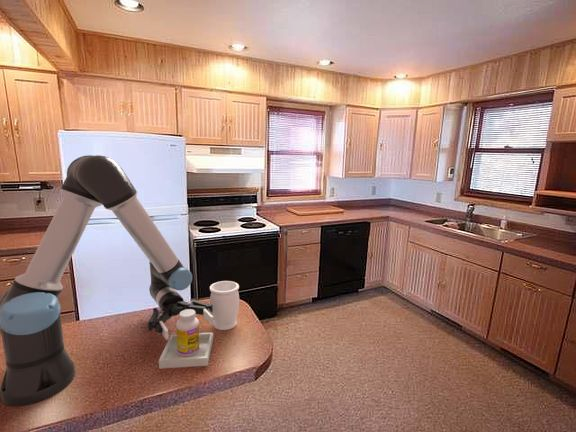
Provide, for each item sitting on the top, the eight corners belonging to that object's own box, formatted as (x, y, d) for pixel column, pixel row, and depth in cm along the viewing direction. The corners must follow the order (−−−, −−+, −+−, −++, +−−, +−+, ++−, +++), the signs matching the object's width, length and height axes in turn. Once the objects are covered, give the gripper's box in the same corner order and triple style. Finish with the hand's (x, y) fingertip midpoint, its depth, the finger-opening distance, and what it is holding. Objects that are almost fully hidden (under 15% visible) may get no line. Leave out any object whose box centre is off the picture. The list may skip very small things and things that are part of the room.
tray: (159, 368, 86) (158, 360, 86) (171, 341, 100) (171, 334, 99) (207, 365, 88) (207, 357, 88) (213, 339, 101) (213, 332, 101)
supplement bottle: (187, 360, 89) (186, 320, 87) (172, 353, 93) (170, 314, 90) (204, 348, 95) (203, 311, 93) (189, 342, 98) (188, 305, 96)
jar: (205, 323, 111) (204, 285, 109) (229, 314, 118) (229, 278, 116) (220, 335, 103) (219, 294, 101) (245, 325, 110) (244, 286, 108)
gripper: (204, 302, 114) (229, 326, 98) (131, 321, 100) (146, 354, 83) (203, 283, 113) (228, 304, 96) (130, 300, 98) (144, 329, 82)
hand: (190, 327), depth 90 cm, fingers open, 13 cm apart
